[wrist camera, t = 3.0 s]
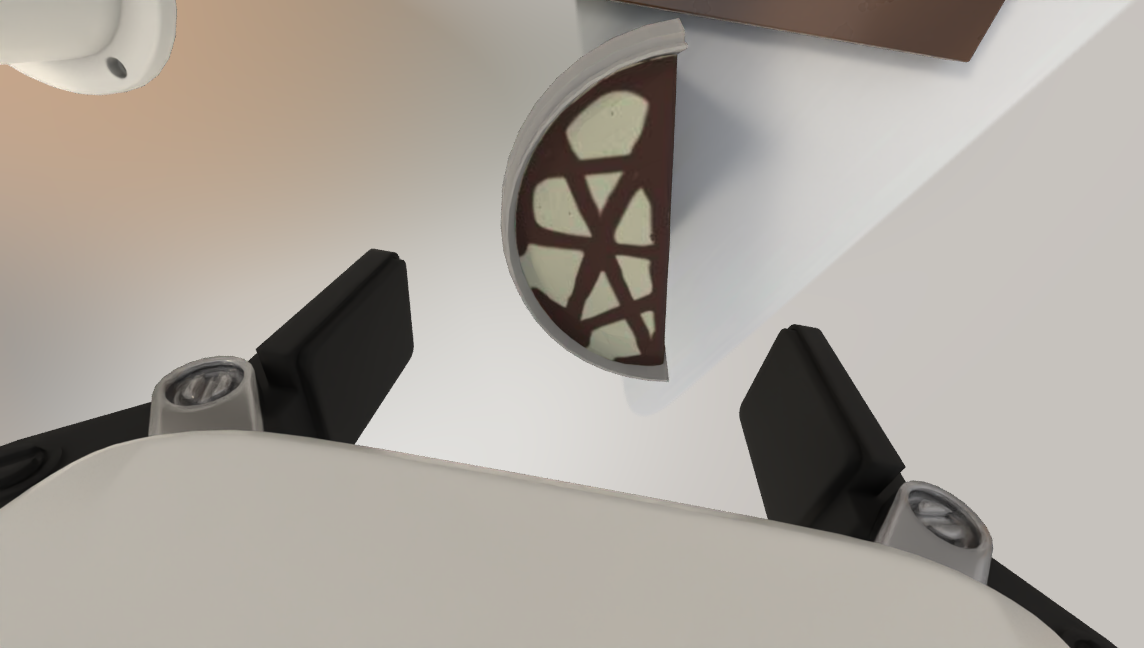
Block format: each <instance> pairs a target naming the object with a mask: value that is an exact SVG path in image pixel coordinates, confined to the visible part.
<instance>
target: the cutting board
mask: <svg viewBox="0 0 1144 648" xmlns="http://www.w3.org/2000/svg"><path fill="white" fill-rule="evenodd" d="M608 1H613V2H619V3H625V4H630V5H636V6H642V7H648V8H653V9H659V10H665V11H670V12H676V13H682V14H688V15H693V16H699V17H705V18H710V19H716V20H722V21H728V22H733V23H739V24H745V25H750V26H756V27H762V28H767V29H773V30H779V31H785V32H790V33H796V34H802V35H807V36H813V37H819V38H825V39H830V40H836V41H842V42H847V43H853V44H859V45H865V46H870V47H876V48H882V49H887V50H893V51H899V52H905V53H910V54H916V55H922V56H927V57H933V58H939V59H945V60H952V61H960V62H969V61H970V59H971V58H972V56H973V54H974V52H975V51H976V49H977V47H978V46H979V44H980V42H981V40H982V39H983V37H984V35H985V34H986V32H987V30H988V29H989V27H990V25H991V23H992V22H993V20H994V18H995V17H996V15H997V13H998V12H999V10H1000V8H1001V6H1002V5H1003V3H1004V1H1005V0H608Z"/></svg>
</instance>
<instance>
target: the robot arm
mask: <svg viewBox="0 0 1144 648" xmlns="http://www.w3.org/2000/svg"><path fill="white" fill-rule="evenodd" d="M176 16H177V9H176V1H175V0H0V64H8V65H9V66H11V67H13V68H14V69H16V70H18V71H20V72H21V73H23V74H25V75H27V76H29V77H31V78H34V79H36V80H38V81H41V82H43V83H45V84H48V85H50V86H52V87H55V88H59V89H63V90H67V91H70V92H74V93H78V94H91V95H105V94H114V93H121V92H127V91H130V90H133V89H136V88H139V87H142V86H145V85H146V84H147V83H148V82H150V81H151V80H152V79H153V78H155V77H156V76H157V75H159V73H160V72H161V70H162V69H163V67H164V66H165V64H166V62H167V61H168V59H169V57H170V54H171V51H172V47H173V43H174V40H175V37H176ZM413 348H414V343H413V333H412V322H411V311H410V301H409V291H408V280H407V269H406V263H405V261H404V260H401V259H399V256H398V254H397V253H395V252H389V251H384V250H378V249H370V250H369V251H368V252H366V253H365V254H364V255H363V256H362V257H361V258H360V259H359V260H357V261H356V262H355V263H354V264H353V265H352V266H350V267H349V268H348V269H347V270H346V271H345V272H344V273H343V274H341V275H340V276H339V277H338V278H337V279H336V280H334V281H333V282H332V283H331V284H330V285H329V286H328V287H326V288H325V289H324V290H323V291H322V292H321V293H320V294H318V295H317V296H316V297H315V298H314V299H313V300H311V301H310V302H309V303H308V304H307V305H306V306H305V307H304V308H302V309H301V310H300V311H299V312H298V313H297V314H295V315H294V316H293V317H292V318H291V319H290V320H289V321H288V322H286V323H285V324H284V325H283V326H282V327H281V328H279V329H278V330H277V331H276V332H275V333H274V334H273V335H271V336H270V337H269V338H268V339H267V340H266V341H264V342H263V343H262V344H261V345H260V346H259V347H258V348H257V349H256V351H257V354H255V355H254V356H253V357H252V358H251V359H250V360H249V361H248V362H247V361H246V360H244V359H242V358H238V357H234V356H216V357H209V358H203V359H200V360H196V361H193V362H190V363H188V364H185V365H183V366H181V367H179V368H177V369H175V370H173V371H172V372H171V373H169V374H168V375H166V376H165V377H163V378H162V379H161V381H160V382H159V383H158V384H157V385H156V386H155V389H154V391H153V394H152V401H151V402H149V403H146V404H143V405H139V406H135V407H132V408H128V409H125V410H121V411H118V412H114V413H111V414H108V415H104V416H100V417H97V418H93V419H90V420H86V421H83V422H80V423H76V424H73V425H69V426H66V427H62V428H59V429H55V430H52V431H48V432H45V433H41V434H38V435H34V436H31V437H27V438H24V439H20V440H17V441H14V442H11V443H9V444H6V445H3V446H0V648H1117V647H1116V646H1115V645H1114V644H1112V643H1111V642H1110V641H1109V640H1107V639H1106V638H1104V637H1103V636H1102V635H1100V634H1099V633H1097V632H1096V631H1094V630H1093V629H1092V628H1090V627H1089V626H1087V625H1086V624H1085V623H1083V622H1082V621H1080V620H1079V619H1078V618H1076V617H1075V616H1074V615H1072V614H1071V613H1069V612H1068V611H1066V610H1065V609H1064V608H1062V607H1061V606H1059V605H1058V604H1057V603H1055V602H1054V601H1052V600H1051V599H1050V598H1048V597H1047V596H1045V595H1044V594H1043V593H1041V592H1040V591H1038V590H1037V589H1036V588H1034V587H1033V586H1031V585H1030V584H1028V583H1027V582H1026V581H1024V580H1023V579H1021V578H1020V577H1019V576H1017V575H1016V574H1014V573H1013V572H1012V571H1010V570H1009V569H1007V568H1006V567H1005V566H1003V565H1001V564H1000V563H999V562H998V561H996V560H995V559H993V558H992V552H993V544H992V537H991V536H990V533H989V531H988V529H987V527H986V526H985V524H984V523H983V522H982V521H981V519H980V518H979V517H978V515H977V514H976V513H975V512H973V511H972V510H971V509H970V508H969V507H968V506H967V505H966V504H965V503H964V502H962V501H961V500H959V499H958V498H957V497H955V496H954V495H952V494H951V493H949V492H947V491H945V490H943V489H941V488H940V487H938V486H935V485H932V484H929V483H926V482H922V481H909V482H905V480H904V478H903V477H902V475H901V473H900V472H901V471H902V470H903V469H904V468H905V465H904V463H903V462H902V460H901V459H900V457H899V455H898V454H897V452H896V451H895V449H894V448H893V446H892V444H891V443H890V441H889V439H888V438H887V436H886V435H885V433H884V431H883V430H882V428H881V427H880V425H879V423H878V422H877V420H876V418H875V417H874V415H873V414H872V412H871V410H870V409H869V407H868V406H867V404H866V402H865V401H864V400H863V398H862V396H861V394H860V393H859V391H858V390H857V388H856V386H855V385H854V383H853V382H852V380H851V378H850V377H849V375H848V374H847V372H846V370H845V369H844V367H843V366H842V364H841V362H840V361H839V359H838V357H837V356H836V354H835V353H834V351H833V349H832V348H831V346H830V345H829V343H828V341H827V340H826V338H825V337H824V335H823V334H822V332H821V331H820V330H819V329H818V328H813V327H807V326H802V325H796V324H793V325H791V326H790V327H789V328H788V329H785V328H784V329H782V330H781V331H780V333H779V334H778V336H777V338H776V340H775V342H774V344H773V345H772V347H771V349H770V351H769V353H768V355H767V357H766V359H765V361H764V362H763V364H762V366H761V368H760V370H759V372H758V374H757V376H756V377H755V379H754V381H753V383H752V385H751V387H750V389H749V391H748V393H747V394H746V397H745V398H744V400H743V402H742V404H741V407H740V412H739V416H740V421H741V425H742V428H743V432H744V436H745V439H746V442H747V446H748V450H749V453H750V457H751V460H752V464H753V468H754V471H755V475H756V478H757V482H758V485H759V489H760V493H761V496H762V499H763V503H764V507H765V511H766V514H767V518H768V519H762V518H757V517H752V516H747V515H742V514H736V513H731V512H726V511H720V510H715V509H710V508H704V507H699V506H693V505H688V504H683V503H677V502H672V501H667V500H662V499H656V498H651V497H645V496H640V495H635V494H629V493H624V492H619V491H613V490H608V489H602V488H597V487H591V486H586V485H580V484H574V483H570V482H564V481H559V480H553V479H548V478H542V477H536V476H530V475H525V474H520V473H515V472H509V471H503V470H498V469H492V468H486V467H481V466H475V465H470V464H464V463H458V462H453V461H447V460H441V459H436V458H430V457H425V456H419V455H413V454H408V453H402V452H396V451H390V450H385V449H379V448H373V447H366V446H360V445H355V443H356V441H357V440H358V438H359V437H360V435H361V434H362V432H363V431H364V429H365V428H366V426H367V424H368V423H369V421H370V420H371V418H372V417H373V415H374V414H375V412H376V411H377V409H378V408H379V406H380V405H381V403H382V402H383V400H384V398H385V397H386V395H387V394H388V392H389V391H390V389H391V388H392V386H393V384H394V383H395V382H396V380H397V379H398V377H399V375H400V374H401V372H402V371H403V369H404V368H405V366H406V365H407V363H408V362H409V360H410V358H411V356H412V353H413Z"/></svg>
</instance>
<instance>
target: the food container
mask: <svg viewBox="0 0 1144 648" xmlns="http://www.w3.org/2000/svg"><path fill="white" fill-rule="evenodd" d="M684 39H685V30H684V28H683V25H682V23H681V21H680V18H677V19H672V20H667V21H663V22H658V23H653V24H649V25H645V26H642V27H640V28H637V29H635V30H632V31H630V32H627V33H624V34H622V35H619V36H617V37H614V38H612V39H610V40H609V41H607V42H605V43H604V44H602V45H600V46H599V47H597V48H595V49H594V50H592V51H590V52H589V53H587V54H585V55H584V56H582V57H581V58H580V59H579V60H577V61H576V62H575V63H574V64H573V65H572V66H571V67H569V68H568V69H567V70H566V71H565V72H563V74H561V75H560V76H559V77H558V78H556V80H555V81H554V82H553V83H552V85H550V87H549V88H548V89H547V90H546V91H545V93H544V94H543V95H542V96H541V97H540V99H539V100H538V101H537V102H536V103H535V105H534V107H533V108H532V110H531V112H530V113H529V115H528V117H527V118H526V120H525V122H524V123H523V125H522V127H521V128H520V130H519V133H518V135H517V138H516V140H515V143H514V145H513V148H512V150H511V153H510V155H509V158H508V163H507V167H506V172H505V177H504V181H503V188H502V207H501V232H502V242H503V251H504V254H505V258H506V262H507V265H508V269H509V272H510V275H511V277H512V279H513V282H514V284H515V286H516V288H517V290H518V292H519V295H520V296H521V298H522V300H523V302H524V304H525V305H526V307H527V308H528V310H529V311H530V313H531V314H532V316H533V317H534V319H535V320H536V322H537V323H538V324H539V325H540V326H541V327H542V328H543V329H544V330H545V331H546V333H547V334H548V335H549V336H550V337H551V338H552V339H554V340H555V341H556V342H557V343H559V344H560V345H561V346H562V347H563V348H565V349H566V350H567V351H569V352H570V353H572V354H574V355H575V356H577V357H579V358H580V359H582V360H583V361H585V362H587V363H590V364H592V365H594V366H596V367H599V368H601V369H603V370H605V371H609V372H612V373H615V374H618V375H622V376H625V377H630V378H636V379H642V380H648V381H664V382H669V377H668V369H667V360H666V351H665V318H666V298H667V278H668V262H669V246H670V214H671V190H672V170H673V149H674V127H675V104H676V74H677V55H676V54H678V53H680V52H682V51H683V50H685V49H687V43H685V42H684Z"/></svg>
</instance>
